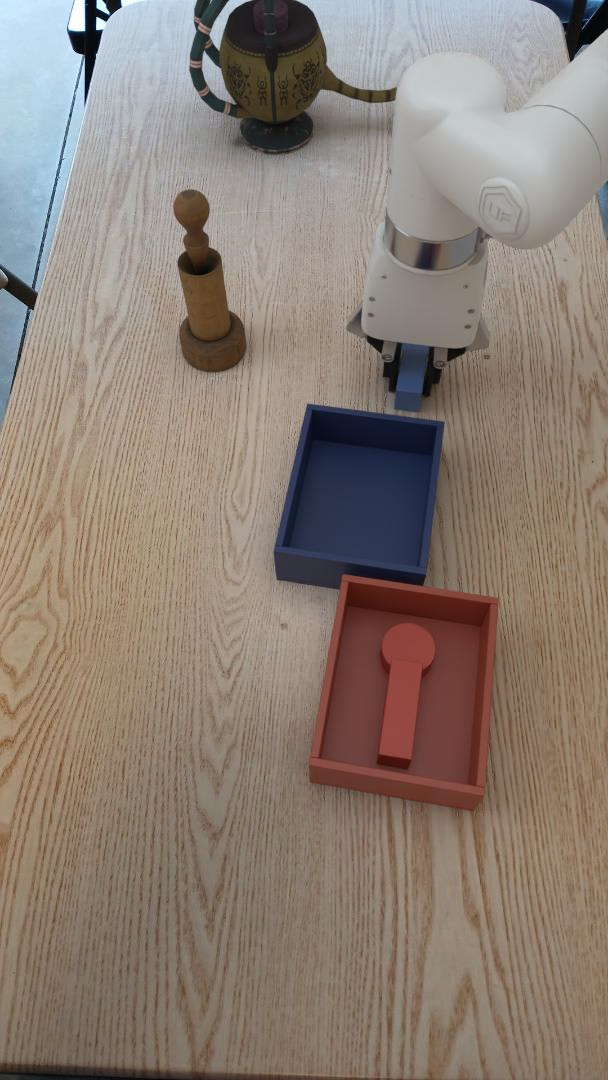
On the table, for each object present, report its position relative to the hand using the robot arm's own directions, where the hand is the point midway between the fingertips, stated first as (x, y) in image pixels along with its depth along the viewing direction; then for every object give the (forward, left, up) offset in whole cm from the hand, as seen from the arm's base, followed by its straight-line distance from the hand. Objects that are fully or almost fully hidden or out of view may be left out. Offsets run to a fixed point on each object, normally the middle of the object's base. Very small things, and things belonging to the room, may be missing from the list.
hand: (410, 381), depth 81 cm
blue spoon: (+1, -2, 0) cm, 2 cm away
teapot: (+35, -21, 0) cm, 41 cm away
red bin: (-21, +24, 0) cm, 32 cm away
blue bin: (-7, +14, 0) cm, 16 cm away
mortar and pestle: (+17, +10, 0) cm, 20 cm away
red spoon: (-21, +25, 0) cm, 32 cm away
